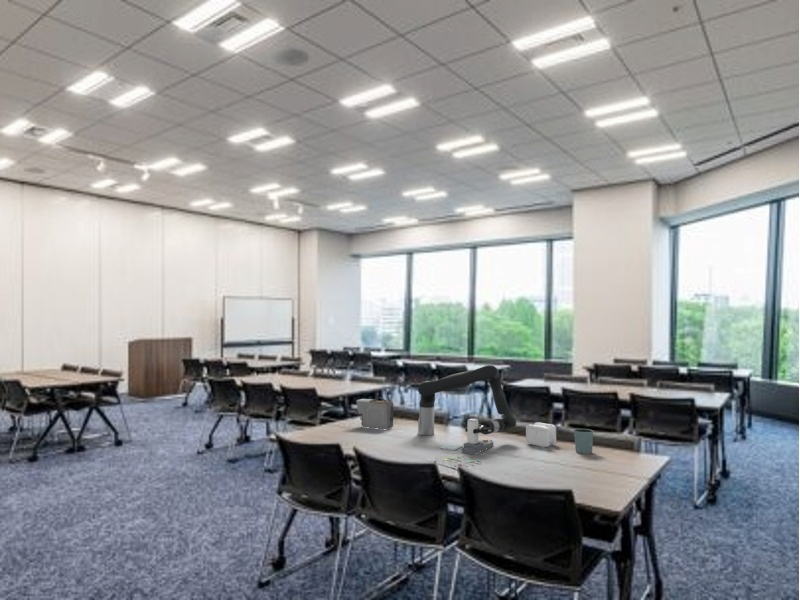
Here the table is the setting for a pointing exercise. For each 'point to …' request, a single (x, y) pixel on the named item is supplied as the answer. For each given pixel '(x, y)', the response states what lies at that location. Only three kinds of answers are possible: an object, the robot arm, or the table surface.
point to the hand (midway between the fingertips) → (469, 430)
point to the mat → (450, 447)
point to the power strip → (477, 446)
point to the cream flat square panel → (463, 458)
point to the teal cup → (583, 440)
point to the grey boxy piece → (376, 413)
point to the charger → (471, 426)
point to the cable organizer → (541, 434)
